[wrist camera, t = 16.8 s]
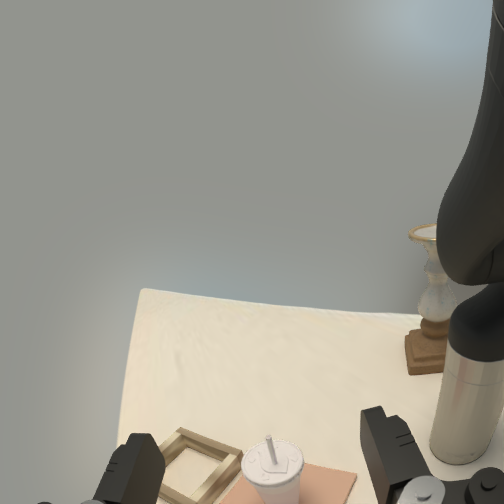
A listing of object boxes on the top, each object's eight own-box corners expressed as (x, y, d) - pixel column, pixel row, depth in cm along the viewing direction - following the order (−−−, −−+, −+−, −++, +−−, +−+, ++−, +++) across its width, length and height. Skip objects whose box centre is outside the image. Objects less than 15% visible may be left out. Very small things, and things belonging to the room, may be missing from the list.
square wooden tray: (186, 439, 45) (180, 426, 44) (246, 462, 38) (241, 450, 38) (138, 483, 35) (130, 471, 35) (198, 518, 29) (190, 508, 28)
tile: (262, 454, 40) (261, 451, 39) (356, 476, 32) (356, 473, 32) (205, 524, 28) (203, 521, 28) (310, 565, 21) (310, 563, 21)
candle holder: (465, 369, 45) (478, 236, 39) (408, 375, 49) (410, 242, 43) (454, 337, 55) (458, 220, 49) (404, 342, 58) (401, 225, 52)
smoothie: (277, 532, 26) (255, 471, 22) (246, 501, 31) (218, 432, 27) (321, 502, 29) (314, 432, 25) (287, 475, 34) (272, 402, 31)
